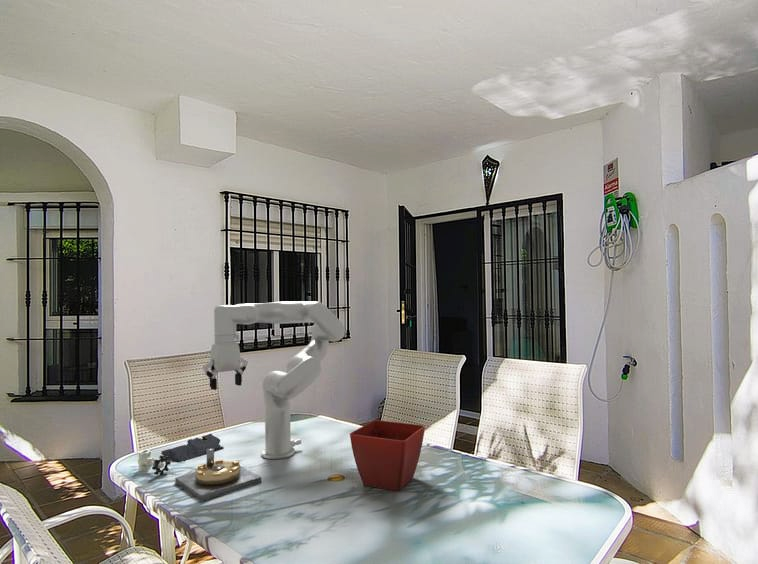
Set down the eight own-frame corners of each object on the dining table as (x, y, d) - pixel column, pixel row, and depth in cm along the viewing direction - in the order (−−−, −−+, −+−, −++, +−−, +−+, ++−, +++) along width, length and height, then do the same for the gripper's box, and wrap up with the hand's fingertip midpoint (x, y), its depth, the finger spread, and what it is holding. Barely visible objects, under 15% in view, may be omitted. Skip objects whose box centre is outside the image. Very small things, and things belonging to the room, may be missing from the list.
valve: (132, 472, 169) (153, 478, 163) (132, 453, 169) (153, 458, 163) (149, 466, 174) (170, 472, 168) (149, 448, 174) (170, 453, 168)
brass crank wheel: (248, 475, 158) (248, 452, 158) (207, 488, 148) (207, 463, 148) (227, 465, 168) (227, 443, 168) (187, 476, 158) (187, 453, 158)
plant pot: (426, 475, 161) (425, 424, 161) (405, 498, 144) (404, 441, 144) (375, 467, 169) (374, 419, 169) (349, 488, 152) (348, 434, 152)
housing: (232, 467, 172) (232, 459, 172) (261, 482, 158) (261, 473, 158) (175, 483, 158) (175, 474, 158) (201, 501, 144) (201, 492, 144)
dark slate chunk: (155, 457, 185) (155, 444, 185) (205, 442, 203) (205, 431, 203) (177, 465, 176) (177, 452, 176) (228, 448, 194) (228, 436, 194)
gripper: (241, 337, 183) (241, 382, 182) (197, 341, 170) (198, 389, 169) (252, 337, 177) (252, 384, 177) (208, 342, 165) (208, 392, 164)
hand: (226, 387), depth 173 cm, fingers open, 9 cm apart
